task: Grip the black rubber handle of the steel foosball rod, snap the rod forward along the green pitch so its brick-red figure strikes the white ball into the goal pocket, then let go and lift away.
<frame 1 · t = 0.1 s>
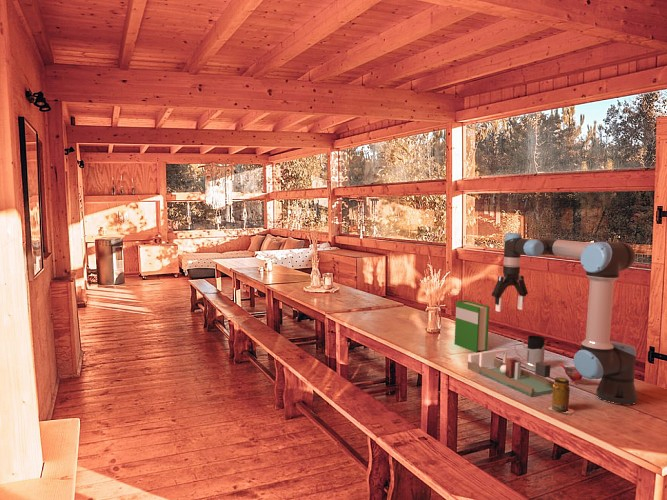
hand: (509, 310, 262), 28 cm above the table, tool pointing down, fingers open, 13 cm apart
ball: (504, 369, 251), point 3 cm above the table, touching pitch
pitch: (510, 379, 248), on the table
foosball rod: (528, 370, 238), point 7 cm above the table, slide at 0.0 cm
glass holder: (528, 368, 266), on the table
hardback book: (470, 347, 300), on the table
condiment: (561, 410, 214), on the table
decorative bird figurine: (570, 382, 246), on the table
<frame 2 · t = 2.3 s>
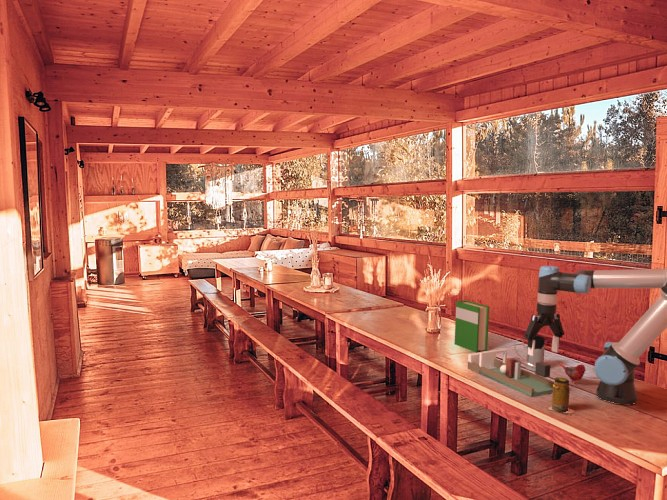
hand: (543, 353, 230), 17 cm above the table, tool pointing down, fingers open, 13 cm apart
nothing on the table moved.
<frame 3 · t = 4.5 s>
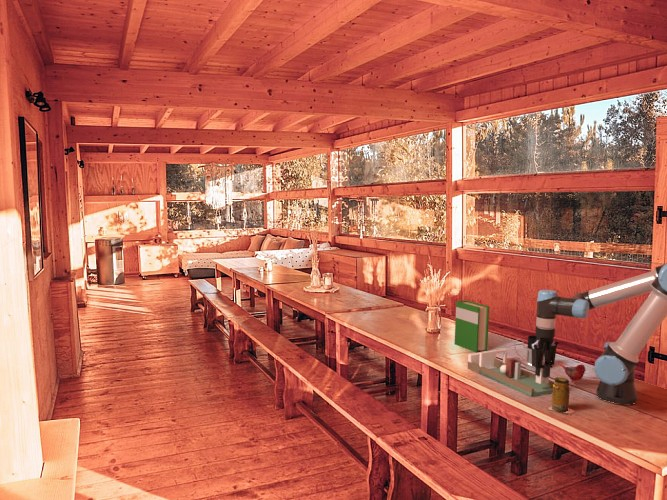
hand: (542, 382, 231), 5 cm above the table, tool pointing down, fingers closed on foosball rod, 3 cm apart
foosball rod: (528, 370, 238), point 7 cm above the table, slide at 0.0 cm, touching gripper
everything else where it was.
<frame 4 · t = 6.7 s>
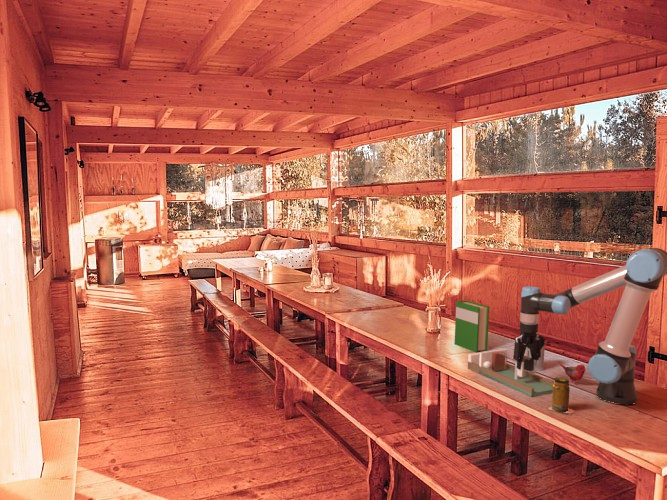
hand: (526, 374, 239), 5 cm above the table, tool pointing down, fingers open, 6 cm apart
ball: (487, 365, 261), point 2 cm above the table, tilted 74°
foosball rod: (513, 364, 246), point 7 cm above the table, slide at 9.1 cm
everything else where it was.
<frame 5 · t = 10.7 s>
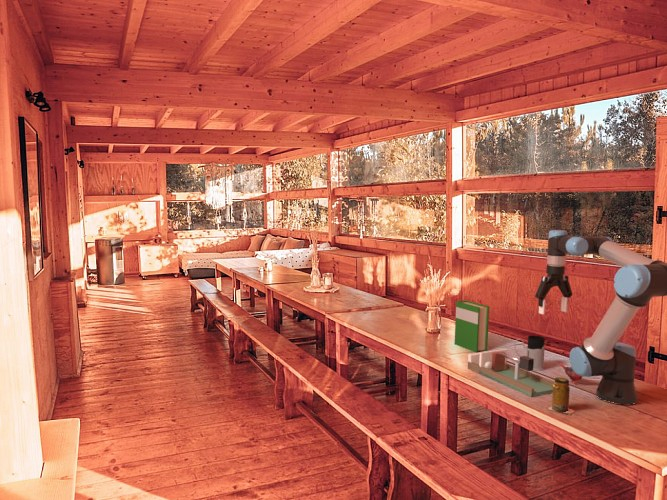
hand: (552, 312, 246), 31 cm above the table, tool pointing down, fingers open, 13 cm apart
ball: (488, 366, 260), point 2 cm above the table, tilted 104°
everything else where it was.
at the end: ball inside the target area (2.0 cm from its centre), point 2.0 cm above the table; foosball rod slide at 9.1 cm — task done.
